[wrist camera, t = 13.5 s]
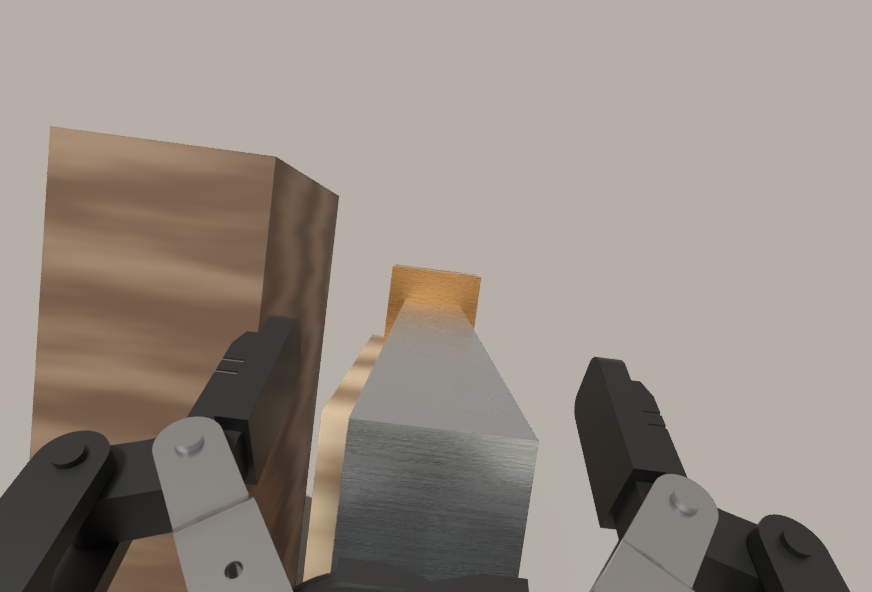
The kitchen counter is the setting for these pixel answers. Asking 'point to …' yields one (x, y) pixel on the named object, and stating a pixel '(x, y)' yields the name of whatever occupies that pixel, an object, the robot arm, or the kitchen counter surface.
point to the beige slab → (334, 461)
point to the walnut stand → (176, 305)
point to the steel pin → (435, 443)
